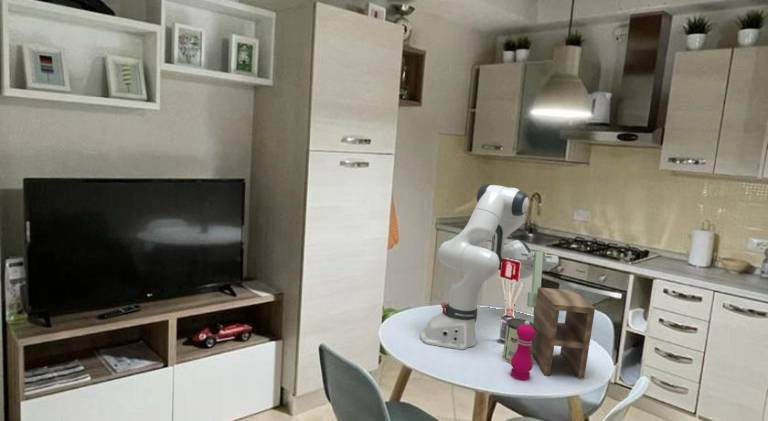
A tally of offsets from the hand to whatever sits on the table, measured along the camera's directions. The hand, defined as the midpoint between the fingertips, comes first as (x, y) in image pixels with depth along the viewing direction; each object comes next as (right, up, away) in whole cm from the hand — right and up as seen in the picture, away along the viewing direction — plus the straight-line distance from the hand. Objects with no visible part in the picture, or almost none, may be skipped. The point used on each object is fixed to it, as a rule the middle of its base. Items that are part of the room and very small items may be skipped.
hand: (539, 254), depth 221 cm
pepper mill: (-20, -39, -43) cm, 61 cm away
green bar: (-1, -11, +2) cm, 11 cm away
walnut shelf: (-4, -38, -31) cm, 49 cm away
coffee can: (-18, -37, -29) cm, 50 cm away
